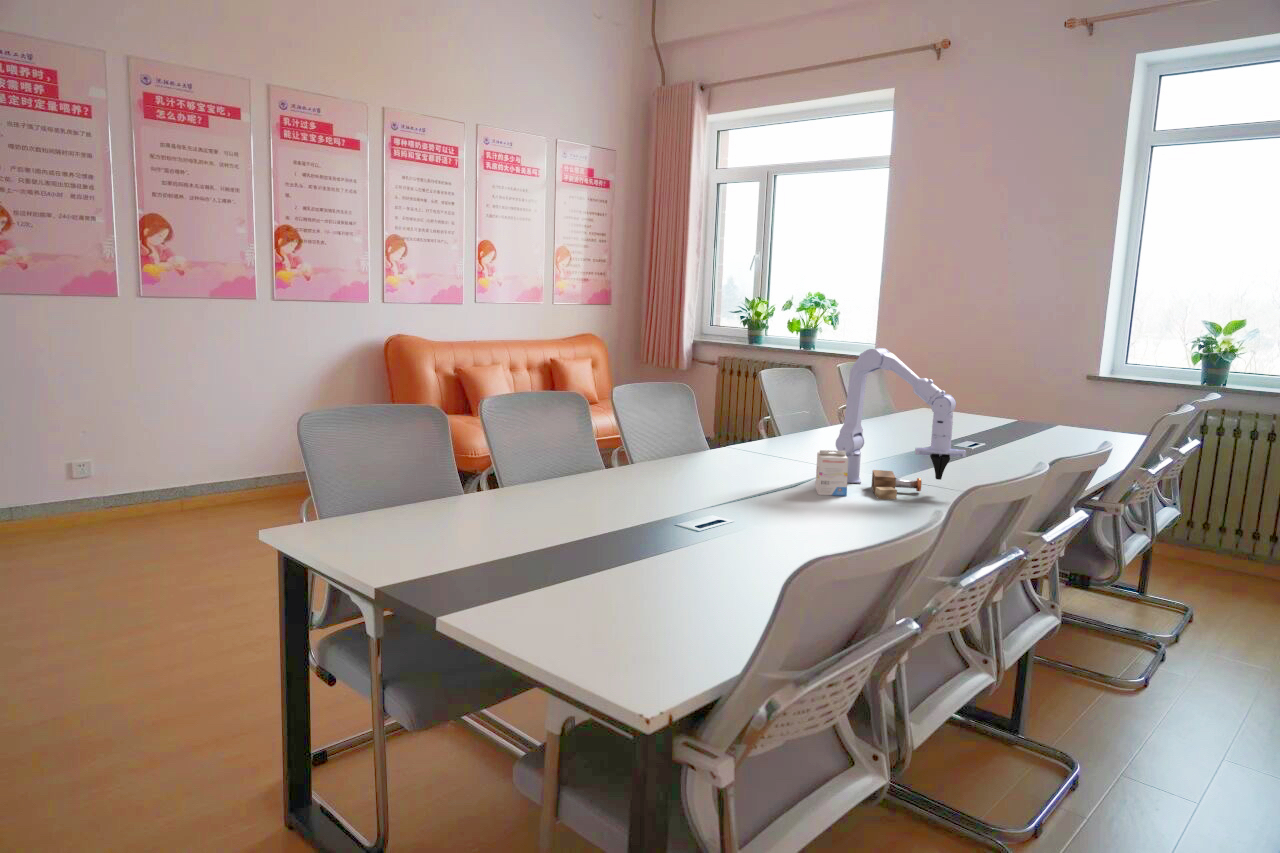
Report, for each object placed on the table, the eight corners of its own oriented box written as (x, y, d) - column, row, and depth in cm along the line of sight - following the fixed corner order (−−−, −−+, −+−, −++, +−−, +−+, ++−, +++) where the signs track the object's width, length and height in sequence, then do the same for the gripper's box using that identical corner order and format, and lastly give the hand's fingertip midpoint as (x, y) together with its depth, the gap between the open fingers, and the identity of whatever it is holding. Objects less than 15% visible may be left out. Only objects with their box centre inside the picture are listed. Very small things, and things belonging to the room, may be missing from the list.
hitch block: (874, 493, 260) (875, 476, 259) (871, 486, 269) (872, 469, 269) (894, 495, 259) (895, 477, 258) (891, 487, 268) (892, 471, 267)
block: (879, 499, 253) (880, 489, 253) (874, 496, 257) (875, 486, 256) (896, 499, 254) (896, 489, 253) (890, 496, 258) (891, 486, 257)
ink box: (843, 490, 264) (845, 447, 262) (846, 496, 256) (849, 452, 253) (814, 488, 265) (817, 446, 262) (817, 495, 256) (820, 451, 254)
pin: (880, 490, 262) (881, 477, 262) (879, 487, 266) (879, 474, 265) (920, 492, 260) (921, 479, 259) (919, 489, 264) (920, 477, 263)
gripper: (918, 435, 256) (915, 480, 258) (969, 438, 253) (965, 483, 255) (915, 432, 263) (912, 475, 265) (964, 434, 260) (961, 478, 262)
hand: (938, 478), depth 260 cm, fingers closed
